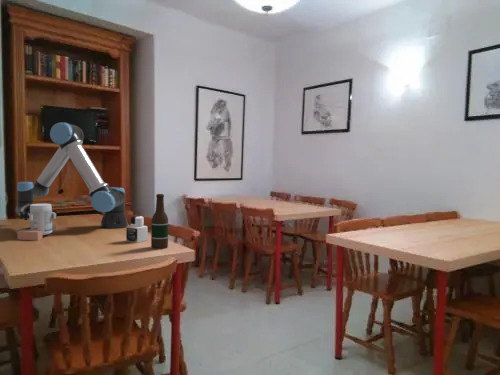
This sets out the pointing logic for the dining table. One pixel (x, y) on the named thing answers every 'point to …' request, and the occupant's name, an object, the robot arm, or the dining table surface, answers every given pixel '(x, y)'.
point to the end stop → (29, 235)
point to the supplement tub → (41, 218)
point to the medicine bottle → (137, 230)
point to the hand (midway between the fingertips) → (43, 216)
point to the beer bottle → (159, 225)
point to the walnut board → (29, 228)
